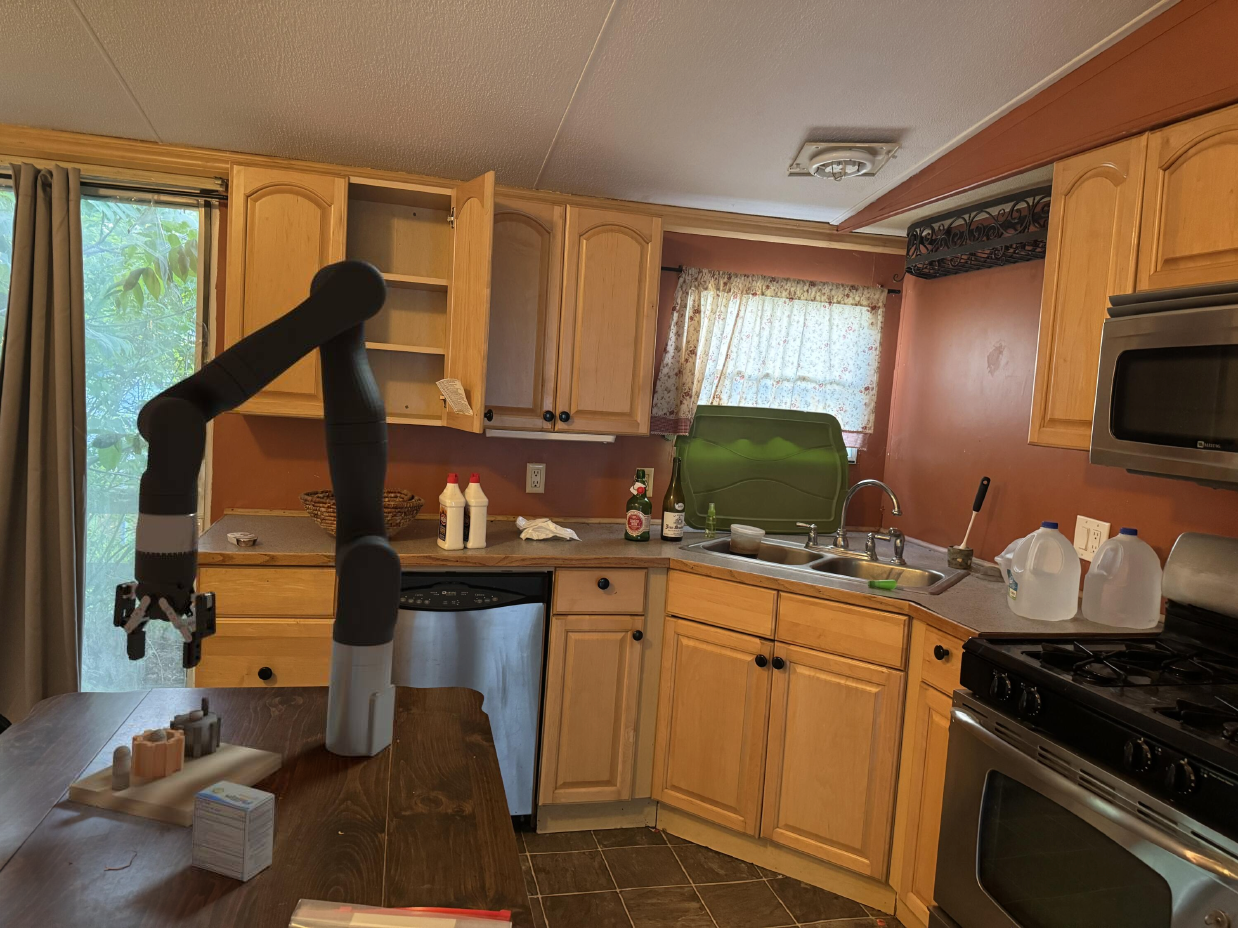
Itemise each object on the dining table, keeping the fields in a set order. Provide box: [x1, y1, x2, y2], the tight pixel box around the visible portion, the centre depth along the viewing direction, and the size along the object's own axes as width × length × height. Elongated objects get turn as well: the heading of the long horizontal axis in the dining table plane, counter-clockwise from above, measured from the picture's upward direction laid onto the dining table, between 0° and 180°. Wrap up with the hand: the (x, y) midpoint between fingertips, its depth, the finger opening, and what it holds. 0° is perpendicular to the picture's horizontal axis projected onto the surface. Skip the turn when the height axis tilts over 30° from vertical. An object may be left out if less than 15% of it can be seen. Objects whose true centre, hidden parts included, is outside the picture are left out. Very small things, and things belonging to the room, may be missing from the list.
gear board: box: [68, 696, 283, 827], centre depth 117 cm, size 18×19×9 cm
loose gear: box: [131, 727, 185, 779], centre depth 117 cm, size 6×6×4 cm
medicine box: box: [190, 781, 276, 882], centre depth 98 cm, size 8×4×9 cm, turn 71°
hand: (163, 663), depth 116 cm, fingers open, 8 cm apart
